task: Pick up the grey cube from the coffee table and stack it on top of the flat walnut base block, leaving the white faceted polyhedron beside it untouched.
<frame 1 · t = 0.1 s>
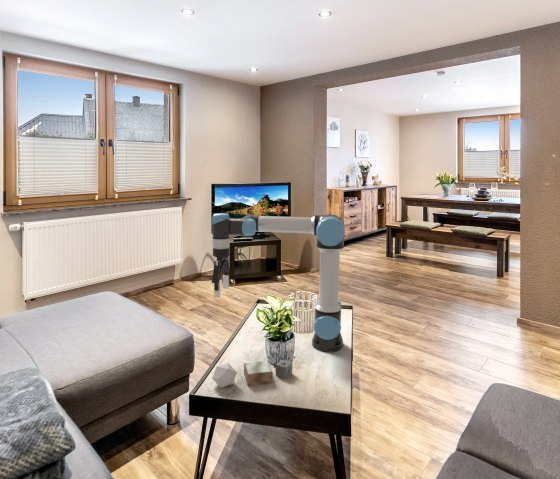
hand: (221, 292, 184), 28 cm above the table, fingers open, 13 cm apart
grey cube: (283, 375, 166), on the table
white faceted polyhedron: (224, 385, 158), on the table
walnut base: (257, 379, 163), on the table
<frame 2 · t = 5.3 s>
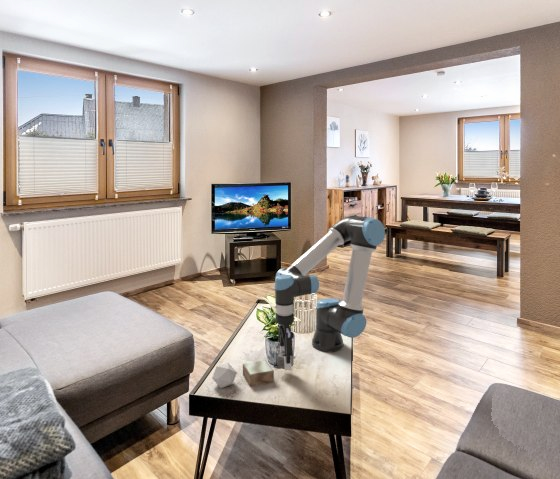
hand: (285, 365, 166), 4 cm above the table, fingers closed on grey cube, 7 cm apart
grey cube: (285, 366, 166), point 3 cm above the table, touching gripper
everything else where it was.
when the fingers open (6 cm above the table, at t = 9.3 s): grey cube stays where it is, resting on walnut base.
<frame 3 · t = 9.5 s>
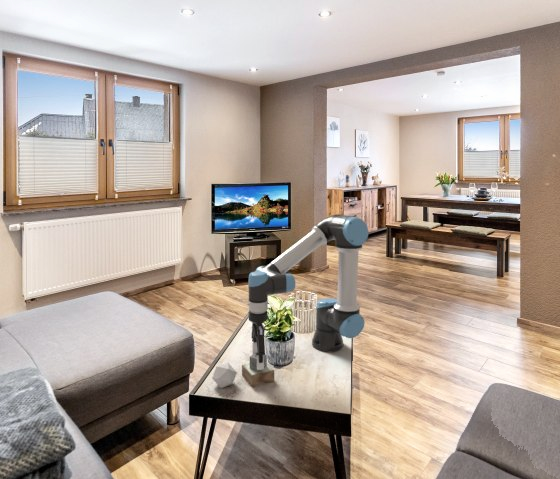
hand: (258, 363, 162), 7 cm above the table, fingers open, 10 cm apart
grey cube: (258, 367, 162), point 5 cm above the table, touching walnut base
walnut base: (257, 379, 163), on the table, touching grey cube
everything else where it was.
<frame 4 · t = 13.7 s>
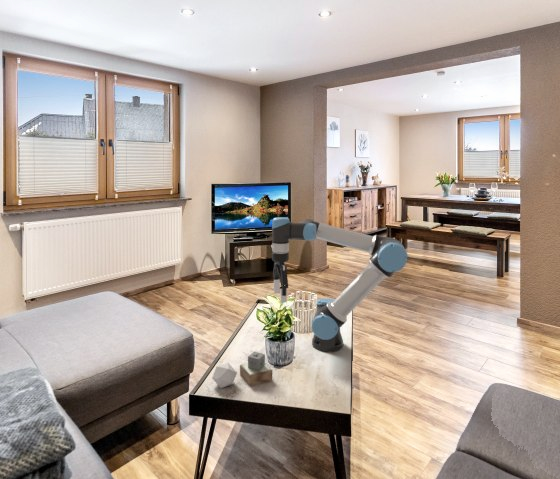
hand: (279, 297, 182), 27 cm above the table, fingers open, 13 cm apart
at the end: grey cube inside the target area on the walnut base (0.2 cm from its centre), point 5.1 cm above the walnut base's base; the gripper is holding nothing; white faceted polyhedron moved 0.2 cm from its start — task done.
